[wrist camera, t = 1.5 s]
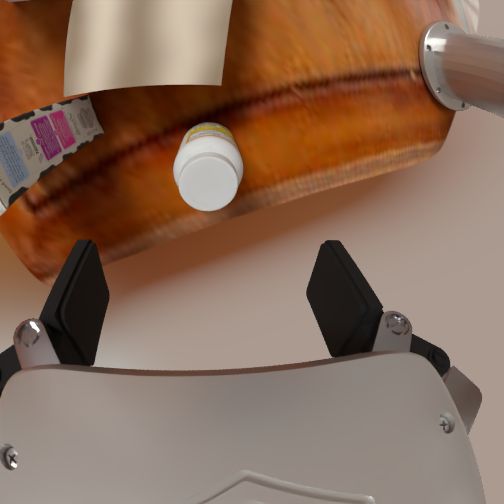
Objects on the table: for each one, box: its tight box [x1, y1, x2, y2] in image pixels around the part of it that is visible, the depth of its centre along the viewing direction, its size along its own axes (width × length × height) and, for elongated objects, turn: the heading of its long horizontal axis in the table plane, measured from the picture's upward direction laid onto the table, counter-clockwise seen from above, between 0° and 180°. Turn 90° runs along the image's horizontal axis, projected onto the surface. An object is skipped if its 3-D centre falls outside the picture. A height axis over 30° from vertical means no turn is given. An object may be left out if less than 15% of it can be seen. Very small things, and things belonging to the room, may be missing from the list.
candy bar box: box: [0, 95, 104, 216], centre depth 14 cm, size 11×5×16 cm, turn 106°
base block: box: [64, 0, 233, 97], centre depth 14 cm, size 13×13×5 cm
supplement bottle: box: [173, 122, 243, 211], centre depth 21 cm, size 5×5×10 cm
